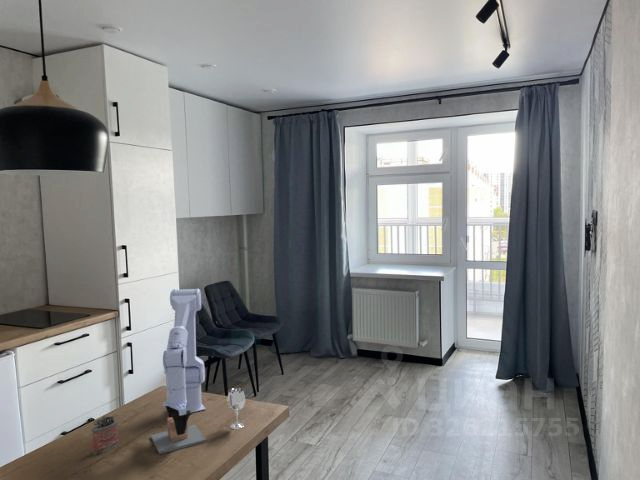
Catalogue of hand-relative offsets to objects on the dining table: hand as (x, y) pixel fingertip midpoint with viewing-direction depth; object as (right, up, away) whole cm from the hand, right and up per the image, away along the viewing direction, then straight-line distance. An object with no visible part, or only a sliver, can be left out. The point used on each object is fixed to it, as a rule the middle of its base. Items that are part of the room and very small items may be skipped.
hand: (177, 429), depth 151 cm
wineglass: (+17, -3, +9) cm, 19 cm away
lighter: (-20, -4, -5) cm, 21 cm away
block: (0, -3, 0) cm, 3 cm away
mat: (0, -3, 0) cm, 3 cm away
